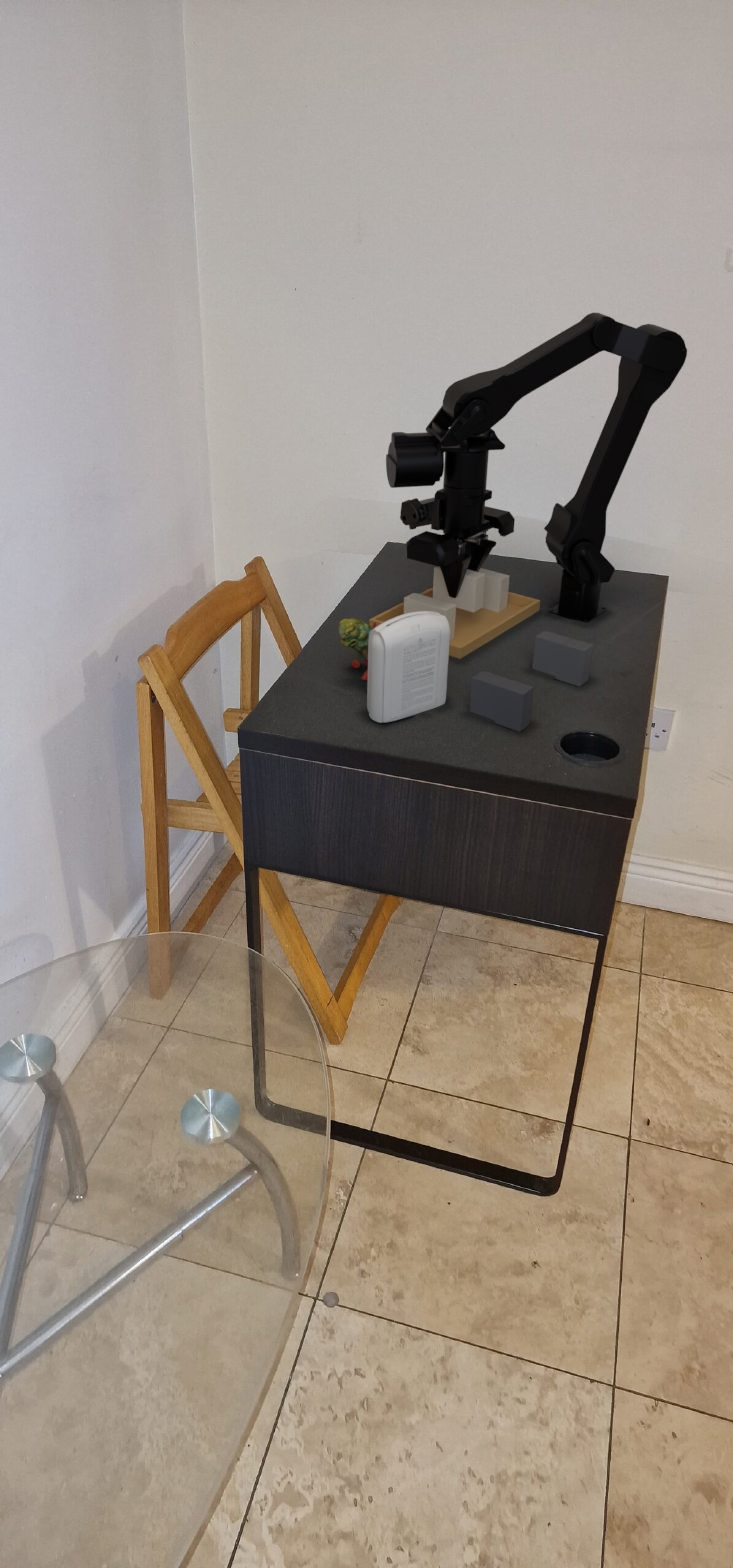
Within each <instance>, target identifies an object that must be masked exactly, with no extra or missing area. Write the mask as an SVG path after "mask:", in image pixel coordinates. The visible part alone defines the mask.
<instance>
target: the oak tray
mask: <svg viewBox="0 0 733 1568" xmlns="http://www.w3.org/2000/svg"><path fill="white" fill-rule="evenodd" d="M419 594H421V595H424V596H428V597H431V598H433V586H432V587H430V588H428V589H425V590H424V591H422V592H420V593H419ZM540 609H541V600H540V599H537V598H533V597H529V596H526V595H522V594H518V593H515V592H512V591H508V600H507V608H506V609H504V610H502V611H501V612H499V613H497V612H494V611H490V610H487V609H483V608H481V609H479V610H477V611H476V612H474V613H473V612H470V611H466V610H463V609H460V608H456V615H455V632H454V639H453V640H451V641H450V644H449V656H450V657H453V658H455V659H463V658H464V657H465V656H468V655H469V654H471V653H472V652H474V651H476V650H477V649H479V648H480V647H482V646H484V645H485V644H487V643H489V642H490V641H492V640H493V639H495V638H497V637H498V636H500V635H501V634H503V633H505V632H507V631H508V630H510V629H511V628H513V627H515V626H516V625H518V624H520V623H521V622H523V621H525V620H526V619H527V618H530V617H531V616H533V615H534V614H536V613H537V612H539V611H540ZM403 614H404V601H403V602H401V603H399V604H397V605H394V606H392V607H391V608H389V609H387V610H385V611H382V612H381V613H379V614H377V615H375V616H373V617H371V618H370V619H368V625H370V626H373V625H374V623H375V622H376V626H375V627H377V626H378V625H380V624H382V623H383V622H385V621H387V620H389V619H392V618H394V617H397V616H400V615H403Z"/></svg>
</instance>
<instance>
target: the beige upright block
mask: <svg viewBox="0 0 733 1568" xmlns="http://www.w3.org/2000/svg"><path fill="white" fill-rule="evenodd" d="M479 572H480V573H484V574H485V583H484V596H483V609H487V610H490V611H494V612H497V613H499V612H501V611H502V610H504V609H506V608H507V600H508V592H509V588H510V578H511V577H510V575H509V574H505V573H502V572H498V571H493V570H490V569H487V568H482V567H481V568H480V570H479Z"/></svg>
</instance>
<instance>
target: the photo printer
mask: <svg viewBox="0 0 733 1568" xmlns="http://www.w3.org/2000/svg"><path fill="white" fill-rule="evenodd" d="M449 644H450V627H449V623H448V620H447V618H446V617H445V616H444V615H441V614H440V613H437V612H432V611H418V612H411V613H407V614H403V615H400V616H397V617H394V618H392V619H389V620H387V621H385V622H383V623H382V624H380V625H378V626H377V627H375V628H374V629H373V630H372V631H371V632H370V635H369V643H368V666H367V670H368V680H367V684H368V685H367V684H366V686H367V689H366V690H367V691H366V693H367V694H366V696H367V697H366V707H367V708H366V709H367V712H368V716H369V718H370V719H371V720H372V721H374V722H376V723H380V724H383V723H385V724H386V723H390V722H396V721H398V720H402V719H405V718H409V717H412V716H415V715H417V714H420V713H423V712H426V711H429V710H432V709H433V710H434V709H435V708H438V707H441V706H443V705H445V704H446V701H447V689H448V672H449V659H450V657H449V656H450V655H449Z"/></svg>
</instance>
